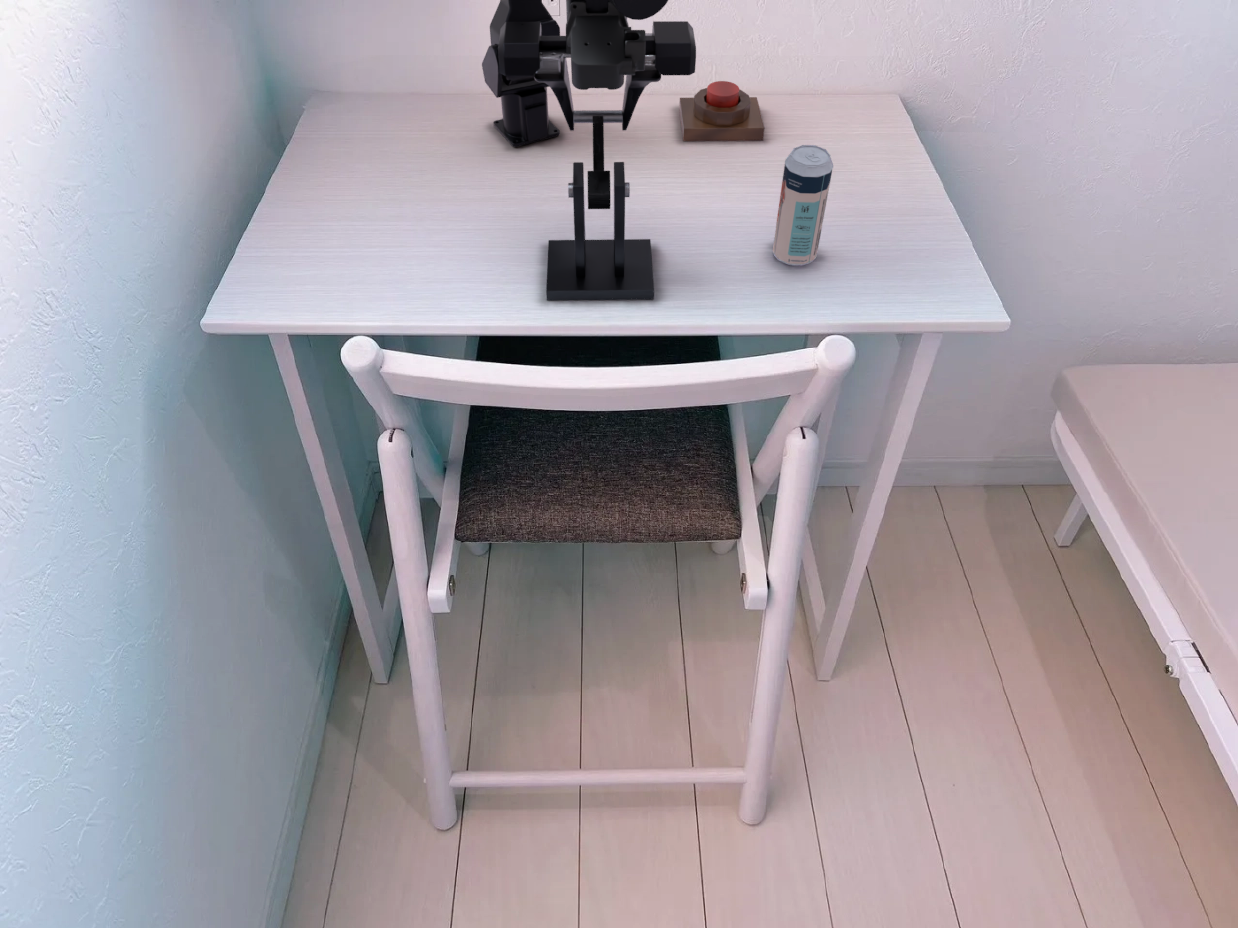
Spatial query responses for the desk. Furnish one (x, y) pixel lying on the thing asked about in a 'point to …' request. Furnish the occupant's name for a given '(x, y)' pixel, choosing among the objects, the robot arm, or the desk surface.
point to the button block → (720, 119)
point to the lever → (598, 155)
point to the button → (722, 94)
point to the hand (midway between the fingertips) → (597, 128)
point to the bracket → (599, 254)
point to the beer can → (802, 204)
